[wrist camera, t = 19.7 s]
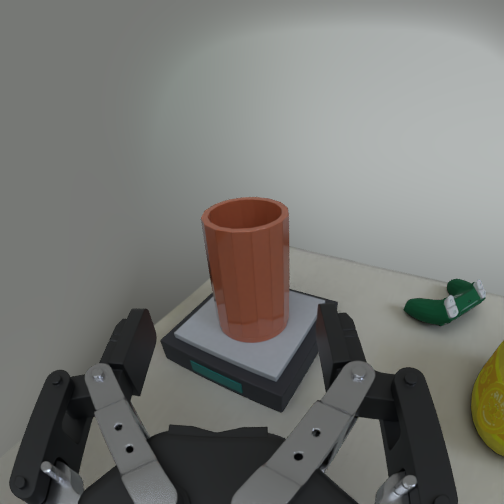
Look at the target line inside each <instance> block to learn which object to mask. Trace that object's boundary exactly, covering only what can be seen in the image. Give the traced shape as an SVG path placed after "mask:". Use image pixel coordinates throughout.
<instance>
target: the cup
mask: <svg viewBox="0 0 504 504" xmlns="http://www.w3.org/2000/svg"><path fill="white" fill-rule="evenodd" d="M201 221H202V229H203V235H204V242H205V248H206V255H207V261H208V267H209V273H210V279H211V285H212V291H213V297H214V303H215V308H216V314H217V318H218V322H219V326H220V328H221V330H222V331H223V332H224V333H225V334H226V335H227V336H228V337H230V338H232V339H234V340H236V341H240V342H245V343H258V342H263V341H267V340H270V339H272V338H274V337H276V336H277V335H279V334H280V333H281V332H282V331H283V330H284V329H285V328H286V326H287V324H288V321H289V213H288V208H287V207H286V206H285V205H284V204H282V203H281V202H278V201H275V200H272V199H268V198H259V197H246V198H236V199H231V200H227V201H223V202H220V203H218V204H215V205H213V206H211V207H210V208H208V209H207V210H205V211H204V213H203V215H202V217H201Z"/></svg>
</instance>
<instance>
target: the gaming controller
mask: <svg viewBox="0 0 504 504" xmlns="http://www.w3.org/2000/svg"><path fill="white" fill-rule="evenodd" d="M447 290H448V293H449V294H450V295H449V296H448V297H447V298H444V299H443V300H431V299H422V298H415V299H410V300H408V301H407V303H406V305H405V307H404V311H405V312H406V313H408V314H409V315H411V316H412V317H414V318H416V319H418V320H420V321H423V322H426V323H430V324H436V325H439V326H442V325H445V324H448V323H450V322H451V321H452V320H454V319H457V318H458V317H459V316H461V315H462V314H464V313H466V312H467V311H469V310H470V309H472V308H473V307H475V306H476V305H478V304H480V303H481V302H482V301H483V300H484V299H485V296H486V292H485V289H484V288H483V285H482V282H481V281H480V279H478V280H477V282H473V283H472V284H471V283H469V282H467V281H464V280H460V279H453V280H451V281H449V282H448V284H447Z"/></svg>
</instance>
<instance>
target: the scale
mask: <svg viewBox="0 0 504 504" xmlns="http://www.w3.org/2000/svg"><path fill="white" fill-rule="evenodd" d="M321 303H335V305H336V309H337V305H338V302H336V301H332V300H328V299H325V298H321V297H317V296H314V295H310V294H306V293H303V292H299V291H295V290H292V289H289V321H288V324H287V326H286V328H285V329H284V330H283V331H282V332H281V333H280V334H279V335H277V336H276V337H274V338H272V339H270V340H267V341H263V342H258V343H245V342H240V341H236V340H234V339H232V338H230V337H228V336H227V335H226V334H225V333H224V332H223V331H222V330H221V328H220V326H219V322H218V318H217V314H216V308H215V303H214V297H213V293H212V294H210V295H209V296H208V297H207V298H206V299H205V300H204V301H203V302H202V303H201V304H200V305H198V306H197V307H196V308H195V309H194V310H193V311H192V312H191V313H190V314H189V315H188V316H186V317H185V318H184V319H183V320H182V321H181V322H180V323H179V324H178V325H177V326H175V327H174V328H173V329H172V330H171V331H170V332H169V333H168V334H167V335H166V336H165V337H163V338H162V339H161V344H162V346H163V349H164V352H165V355H166V357H167V358H168V359H170V360H172V361H174V362H176V363H177V364H179V365H181V366H183V367H185V368H187V369H189V370H191V371H193V372H194V373H196V374H198V375H200V376H202V377H204V378H206V379H208V380H210V381H212V382H214V383H216V384H219V385H221V386H223V387H225V388H227V389H229V390H231V391H233V392H235V393H238V394H240V395H242V396H244V397H246V398H249V399H251V400H253V401H256V402H258V403H260V404H262V405H265V406H267V407H270V408H272V409H274V410H277V411H279V412H283V410H284V408H285V407H286V405H287V404H288V402H289V400H290V399H291V397H292V396H293V394H294V392H295V391H296V389H297V387H298V386H299V384H300V382H301V381H302V379H303V377H304V376H305V374H306V372H307V371H308V369H309V367H310V365H311V364H312V362H313V360H314V358H315V357H316V355H317V353H318V346H317V340H316V321H317V309H318V304H321Z"/></svg>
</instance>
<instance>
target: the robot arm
mask: <svg viewBox="0 0 504 504" xmlns="http://www.w3.org/2000/svg"><path fill="white" fill-rule="evenodd" d="M316 340H317V346H318V351H319V356H320V362H321V367H322V373H323V378H324V384H325V390H326V394H325V395H324V397H323V398H322V399H321V400H317V401H316V402H315V403H314V404H313V405H312V407H311V408H310V409H309V411H308V412H307V413H306V415H305V416H304V417H303V419H302V420H301V421H300V422H299V424H298V425H297V426H296V428H295V429H294V430H293V431H292V433H291V434H290V435H289V436H288V438H287V439H285V438H283V437H280V436H278V435H274V434H270V433H268V428H267V427H242V428H238V429H233V430H228V431H223V432H212V431H208V430H204V429H201V428H197V427H194V426H182V425H169V430H168V431H166V432H162V433H159V434H156V435H154V436H152V437H150V435H149V434H148V432H147V431H146V429H145V427H144V425H143V424H142V422H141V420H140V418H139V416H138V414H137V412H136V411H135V409H134V407H133V405H132V403H131V401H130V400H131V397H132V395H135V396H140V395H141V391H142V388H143V384H144V381H145V378H146V374H147V371H148V368H149V364H150V361H151V358H152V355H153V351H154V348H155V345H156V331H155V328H154V325H153V322H152V319H151V316H150V313H149V311H148V310H147V309H132V310H131V311H130V313H129V316H128V318H127V319H122V320H121V321H120V322H119V323H118V324H117V325H116V327H115V329H114V331H113V335H112V336H111V338H110V341H109V342H108V344H107V347H106V349H105V351H104V353H103V356H102V358H101V360H100V362H99V364H95V365H93V366H91V367H90V368H89V369H88V370H87V372H86V374H84V375H79V376H73V377H70V375H69V374H68V373H67V372H66V371H64V370H57V371H54V372H52V373H51V374H50V375H49V376H48V377H47V379H46V381H45V383H44V386H43V388H42V390H41V393H40V395H39V397H38V400H37V402H36V405H35V407H34V410H33V413H32V415H31V417H30V420H29V423H28V426H27V428H26V431H25V434H24V436H23V439H22V442H21V445H20V448H19V451H18V454H17V457H16V460H15V464H14V467H13V470H12V474H11V477H10V482H9V484H10V489H11V491H12V493H13V494H14V495H15V496H16V497H18V498H20V499H21V500H23V501H25V502H26V503H27V504H358V503H357V502H356V501H355V500H354V499H353V498H352V497H350V496H349V495H348V494H347V493H346V492H345V491H343V490H342V489H341V488H340V487H339V486H338V485H337V484H336V483H334V482H333V481H332V480H331V479H330V478H329V477H328V476H327V475H326V474H325V473H324V472H325V471H326V469H327V468H328V467H329V465H330V464H331V462H332V461H333V459H334V458H335V456H336V454H337V453H338V451H339V449H340V447H341V446H342V444H343V442H344V441H345V439H346V438H347V436H348V435H349V433H350V431H351V430H352V428H353V426H354V425H355V423H356V421H357V420H358V418H359V417H364V418H372V419H379V422H380V427H381V433H382V438H383V444H384V450H385V456H386V463H387V469H388V476H389V478H388V479H387V480H386V481H385V482H384V483H383V484H382V485H381V486H380V488H379V489H378V490H377V492H376V497H375V504H458V497H457V492H456V487H455V482H454V478H453V473H452V469H451V465H450V461H449V457H448V453H447V449H446V445H445V441H444V438H443V434H442V430H441V427H440V424H439V420H438V417H437V414H436V410H435V407H434V404H433V401H432V398H431V395H430V392H429V388H428V386H427V383H426V380H425V377H424V375H423V374H422V373H421V372H420V371H419V370H417V369H415V368H410V367H406V368H402V369H400V370H399V371H398V372H397V373H396V374H387V373H381V372H377V371H375V370H374V369H373V367H372V366H371V365H369V364H368V363H367V362H366V359H365V356H364V353H363V350H362V346H361V343H360V340H359V337H358V334H357V331H356V329H355V325H354V322H353V320H352V319H351V318H350V316H349V315H348V314H347V313H338V312H337V309H336V305H335V303H321V304H318V309H317V321H316ZM93 417H96V420H97V422H98V425H99V427H100V430H101V432H102V434H103V437H104V439H105V441H106V444H107V446H108V448H109V450H110V453H111V455H112V457H113V459H114V461H115V463H116V466H115V467H113V468H112V469H111V470H110V471H108V472H107V473H106V474H105V475H103V476H102V477H101V478H100V479H98V480H97V481H96V482H95V483H93V484H92V485H91V486H89V487H88V488H87V489H86V490H85V491H84V488H83V481H82V478H81V477H80V475H79V469H80V465H81V461H82V457H83V453H84V449H85V445H86V441H87V437H88V433H89V430H90V426H91V422H92V419H93Z"/></svg>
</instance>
